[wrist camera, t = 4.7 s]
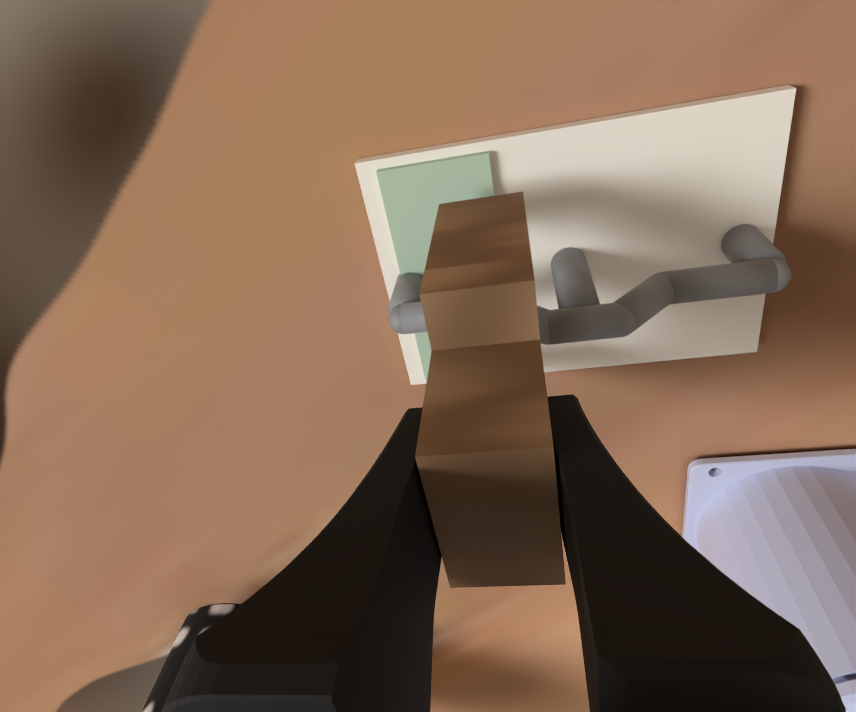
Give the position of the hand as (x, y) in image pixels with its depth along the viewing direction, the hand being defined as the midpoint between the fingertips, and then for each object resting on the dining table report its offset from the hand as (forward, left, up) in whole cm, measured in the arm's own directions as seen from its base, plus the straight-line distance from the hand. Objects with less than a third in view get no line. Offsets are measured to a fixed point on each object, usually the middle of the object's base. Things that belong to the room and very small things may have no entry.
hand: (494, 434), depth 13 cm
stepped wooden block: (0, 0, -7) cm, 7 cm away
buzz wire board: (-3, 0, -9) cm, 9 cm away
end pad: (+1, 0, -9) cm, 9 cm away
